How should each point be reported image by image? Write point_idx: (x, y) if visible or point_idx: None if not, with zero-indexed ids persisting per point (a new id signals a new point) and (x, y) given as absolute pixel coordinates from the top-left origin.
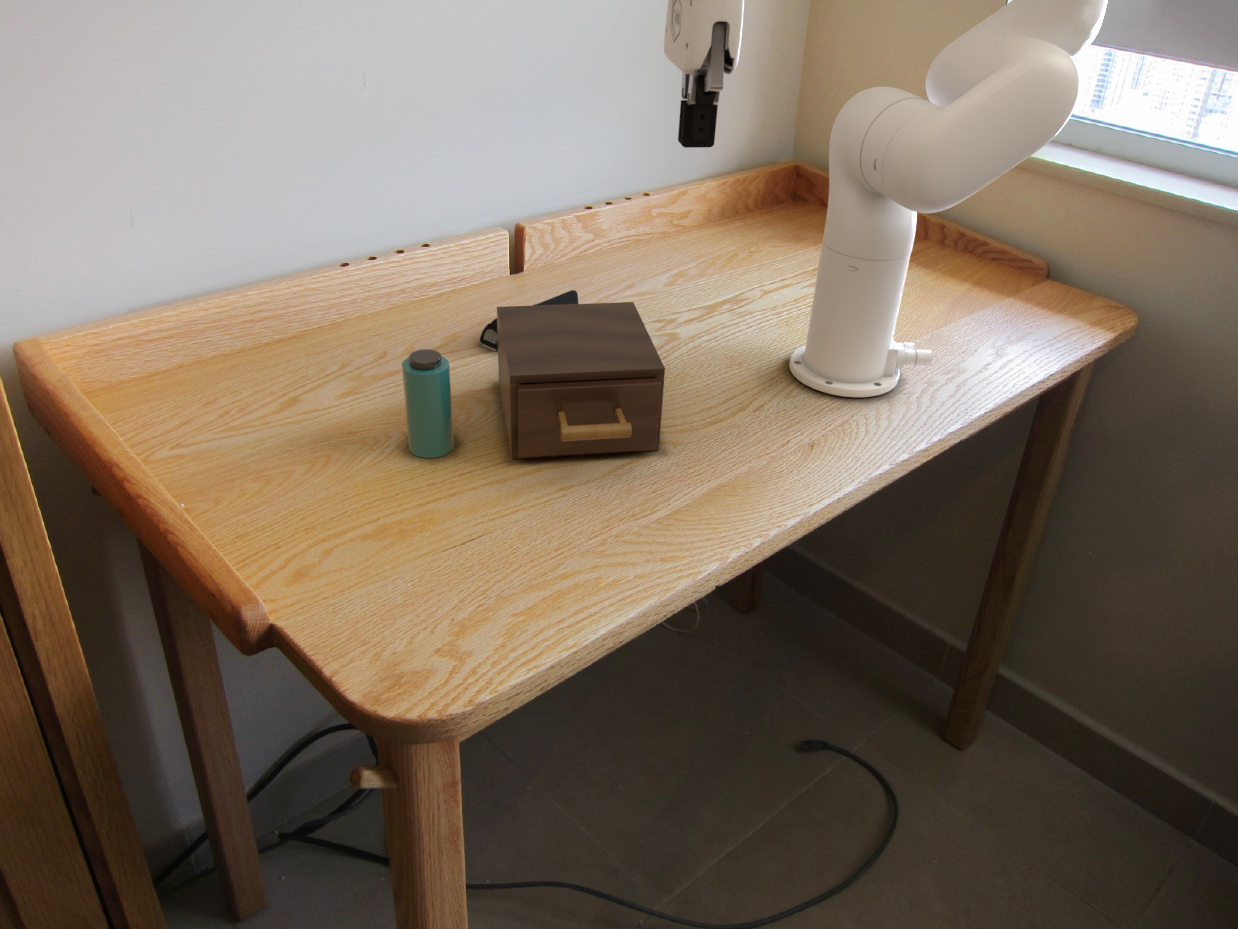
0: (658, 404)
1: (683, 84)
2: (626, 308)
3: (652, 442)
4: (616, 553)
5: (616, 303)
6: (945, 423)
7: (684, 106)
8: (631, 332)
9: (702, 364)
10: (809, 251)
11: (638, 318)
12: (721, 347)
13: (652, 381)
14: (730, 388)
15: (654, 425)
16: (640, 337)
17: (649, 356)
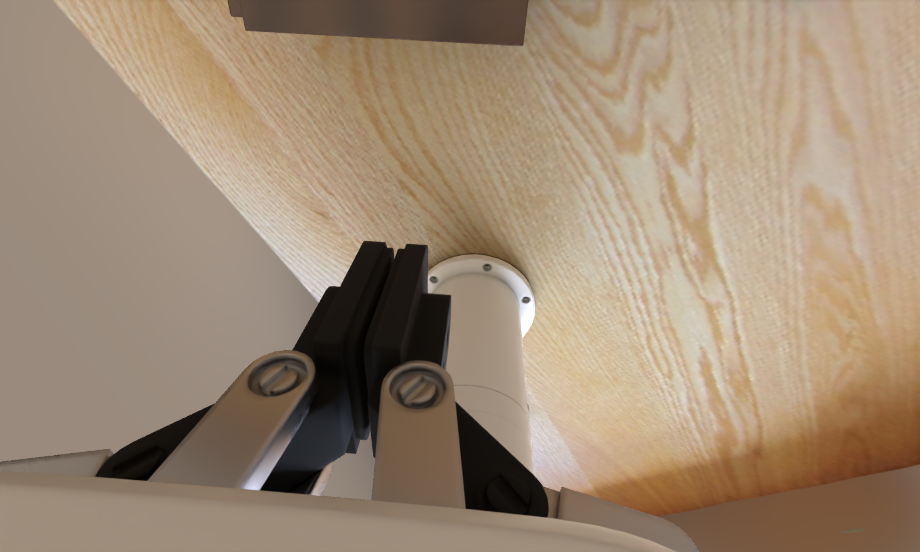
0: None
1: (412, 421)
2: (495, 22)
3: None
4: None
5: (522, 5)
6: None
7: (318, 332)
8: (385, 2)
9: (532, 158)
10: (803, 395)
11: (445, 35)
12: (573, 199)
13: (235, 1)
14: (460, 172)
15: None
16: (363, 16)
17: (287, 12)
